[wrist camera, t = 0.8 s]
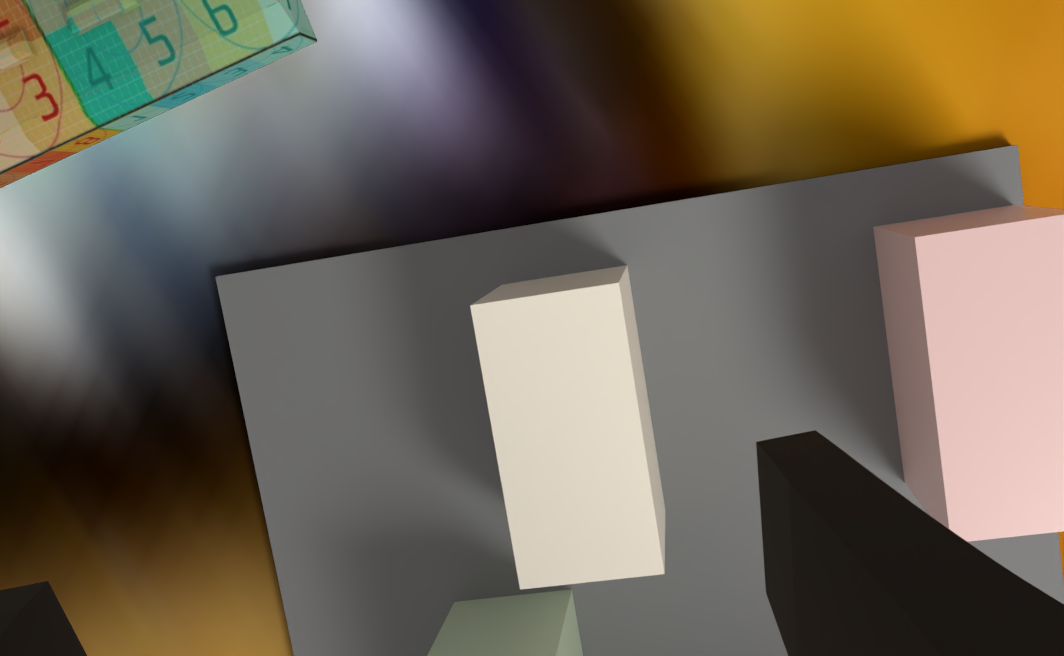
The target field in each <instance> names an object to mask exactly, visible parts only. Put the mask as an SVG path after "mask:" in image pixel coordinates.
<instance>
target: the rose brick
mask: <svg viewBox="0 0 1064 656" xmlns="http://www.w3.org/2000/svg"><path fill="white" fill-rule="evenodd" d="M873 230H874V238H875V246H876V254H877V262H878V270H879V278H880V286H881V294H882V303H883V311H884V319H885V327H886V335H887V343H888V351H889V359H890V367H891V375H892V383H893V391H894V400H895V408H896V416H897V424H898V432H899V440H900V448H901V456H902V464H903V472H904V480H905V484H906V485H907V486H908V488H909V489H910V490H911V492H912V493H913V494H914V496H915V497H916V498H917V499H918V501H919V502H920V503H921V505H922V506H923V507H924V509H925V510H926V511H927V513H928V514H929V515H930V516H931V517H933V518H934V519H935V520H937V521H938V522H940V523H941V524H942V525H944V526H945V527H947V528H948V529H950V530H951V531H953V532H954V533H955V534H957V535H958V536H960V537H961V538H963V539H964V540H966V541H967V542H969V541H978V540H988V539H997V538H1006V537H1016V536H1025V535H1034V534H1044V533H1053V532H1062V531H1064V209H1055V208H1043V207H1031V206H1020V205H1010V206H1004V207H997V208H991V209H984V210H978V211H972V212H965V213H959V214H952V215H946V216H939V217H933V218H927V219H920V220H914V221H907V222H901V223H894V224H888V225H882V226H875V227H873Z"/></svg>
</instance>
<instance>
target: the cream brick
mask: <svg viewBox="0 0 1064 656" xmlns="http://www.w3.org/2000/svg"><path fill="white" fill-rule="evenodd" d="M470 308H471V313H472V319H473V325H474V330H475V336H476V342H477V347H478V353H479V359H480V364H481V370H482V376H483V382H484V387H485V393H486V399H487V404H488V410H489V416H490V421H491V427H492V433H493V438H494V444H495V450H496V455H497V461H498V467H499V473H500V478H501V484H502V490H503V495H504V501H505V507H506V512H507V518H508V524H509V529H510V535H511V541H512V546H513V552H514V558H515V564H516V569H517V575H518V581H519V586H520V590H521V589H530V588H540V587H549V586H558V585H568V584H577V583H586V582H596V581H605V580H614V579H624V578H633V577H642V576H652V575H661V574H665V505H664V498H663V492H662V485H661V479H660V473H659V466H658V460H657V453H656V447H655V440H654V434H653V427H652V421H651V415H650V408H649V402H648V395H647V389H646V382H645V376H644V369H643V363H642V357H641V350H640V344H639V337H638V331H637V324H636V318H635V312H634V305H633V299H632V292H631V286H630V279H629V273H628V266H627V265H625V266H618V267H612V268H605V269H599V270H593V271H586V272H580V273H573V274H567V275H561V276H554V277H548V278H541V279H535V280H528V281H522V282H516V283H509V284H503V285H501V286H499V287H498V288H496V289H495V290H493V291H492V292H490V293H489V294H487V295H485V296H484V297H482V298H481V299H479V300H478V301H476V302H475V303H473V304H472V305H470Z"/></svg>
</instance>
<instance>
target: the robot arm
mask: <svg viewBox="0 0 1064 656" xmlns="http://www.w3.org/2000/svg"><path fill="white" fill-rule="evenodd" d="M756 449H757V464H758V479H759V494H760V510H761V525H762V540H763V555H764V570H765V585H766V594H767V597H768V600H769V603H770V606H771V608H772V611H773V614H774V617H775V620H776V623H777V626H778V628H779V631H780V634H781V637H782V640H783V643H784V645H785V648H786V651H787V653H788V656H1064V604H1062V603H1061V602H1059V601H1057V600H1056V599H1054V598H1053V597H1051V596H1049V595H1048V594H1046V593H1044V592H1043V591H1041V590H1040V589H1038V588H1036V587H1035V586H1033V585H1032V584H1030V583H1028V582H1027V581H1025V580H1023V579H1022V578H1020V577H1019V576H1017V575H1016V574H1014V573H1013V572H1011V571H1010V570H1008V569H1007V568H1005V567H1004V566H1002V565H1001V564H999V563H997V562H996V561H994V560H993V559H992V558H990V557H989V556H987V555H986V554H984V553H983V552H981V551H980V550H979V549H977V548H976V547H974V546H973V545H971V544H970V543H968V542H967V541H966V540H964V539H963V538H961V537H960V536H958V535H957V534H955V533H954V532H953V531H951V530H950V529H948V528H947V527H945V526H944V525H942V524H941V523H940V522H938V521H937V520H935V519H934V518H933V517H931V516H930V515H928V514H927V513H926V512H924V511H923V510H922V509H920V508H919V507H917V506H916V505H915V504H913V503H912V502H911V501H909V500H908V499H907V498H905V497H904V496H903V495H901V494H900V493H899V492H897V491H896V490H895V489H893V488H892V487H890V486H889V485H888V484H886V483H885V482H884V481H882V480H881V479H880V478H879V477H877V476H876V475H875V474H873V473H872V472H871V471H869V470H868V469H867V468H865V467H864V466H863V465H861V464H860V463H859V462H857V461H856V460H855V459H854V458H852V457H851V456H850V455H848V454H847V453H846V452H844V451H843V450H842V449H840V448H839V447H838V446H836V445H835V444H834V443H832V442H831V441H830V440H828V439H827V438H826V437H824V436H823V435H821V434H820V433H819V432H817V431H816V430H814V431H809V432H803V433H798V434H793V435H788V436H783V437H778V438H773V439H768V440H763V441H758V442H756ZM0 656H87V655H86V653H85V651H84V649H83V647H82V645H81V643H80V641H79V640H78V638H77V636H76V634H75V632H74V630H73V628H72V626H71V624H70V622H69V620H68V619H67V617H66V615H65V613H64V611H63V609H62V607H61V605H60V603H59V601H58V599H57V598H56V596H55V594H54V592H53V590H52V588H51V586H50V584H49V582H48V581H46V582H41V583H36V584H31V585H26V586H21V587H16V588H11V589H6V590H1V591H0Z"/></svg>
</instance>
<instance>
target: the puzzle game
mask: <svg viewBox="0 0 1064 656" xmlns="http://www.w3.org/2000/svg"><path fill="white" fill-rule="evenodd" d="M315 42H317V39H316V37H315V34H314V32H313V29H312V27H311V25H310V22H309V20H308V17H307V15H306V12H305V10H304V8H303V5H302V3H301V0H0V188H2V187H4V186H6V185H8V184H10V183H12V182H15V181H17V180H19V179H21V178H23V177H25V176H27V175H30V174H32V173H34V172H36V171H38V170H40V169H43V168H45V167H47V166H49V165H51V164H53V163H56V162H58V161H60V160H62V159H64V158H66V157H68V156H71V155H73V154H75V153H77V152H79V151H81V150H84V149H86V148H88V147H90V146H92V145H94V144H97V143H99V142H101V141H103V140H105V139H107V138H110V137H112V136H114V135H116V134H118V133H120V132H122V131H125V130H127V129H129V128H131V127H133V126H135V125H138V124H140V123H142V122H144V121H146V120H148V119H151V118H153V117H155V116H157V115H159V114H161V113H163V112H166V111H168V110H170V109H172V108H174V107H176V106H179V105H181V104H183V103H185V102H187V101H189V100H192V99H194V98H196V97H198V96H200V95H202V94H204V93H207V92H209V91H211V90H213V89H215V88H217V87H220V86H222V85H224V84H226V83H228V82H230V81H233V80H235V79H237V78H239V77H241V76H243V75H246V74H248V73H250V72H252V71H254V70H256V69H258V68H261V67H263V66H265V65H267V64H269V63H271V62H274V61H276V60H278V59H280V58H282V57H284V56H287V55H289V54H291V53H293V52H295V51H297V50H299V49H302V48H304V47H306V46H308V45H310V44H312V43H315Z"/></svg>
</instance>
